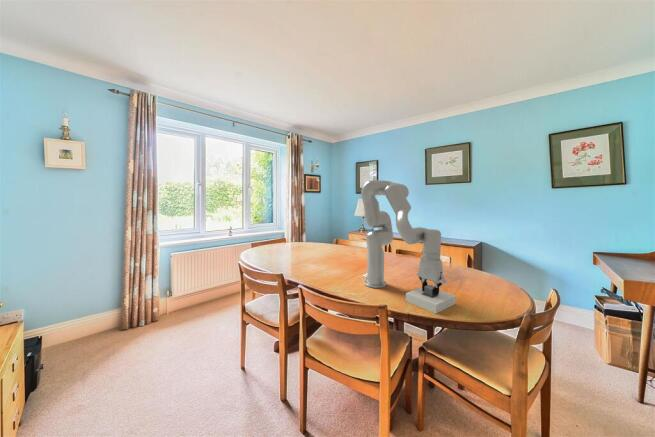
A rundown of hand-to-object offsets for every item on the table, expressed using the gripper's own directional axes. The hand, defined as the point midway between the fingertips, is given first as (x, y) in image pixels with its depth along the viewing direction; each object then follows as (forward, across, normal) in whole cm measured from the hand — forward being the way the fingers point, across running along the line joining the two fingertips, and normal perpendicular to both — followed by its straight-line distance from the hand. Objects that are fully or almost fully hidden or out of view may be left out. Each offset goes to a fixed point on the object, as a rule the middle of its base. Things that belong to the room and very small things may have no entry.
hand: (430, 292), depth 119 cm
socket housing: (+5, 0, 0) cm, 5 cm away
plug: (+5, 0, 0) cm, 5 cm away
